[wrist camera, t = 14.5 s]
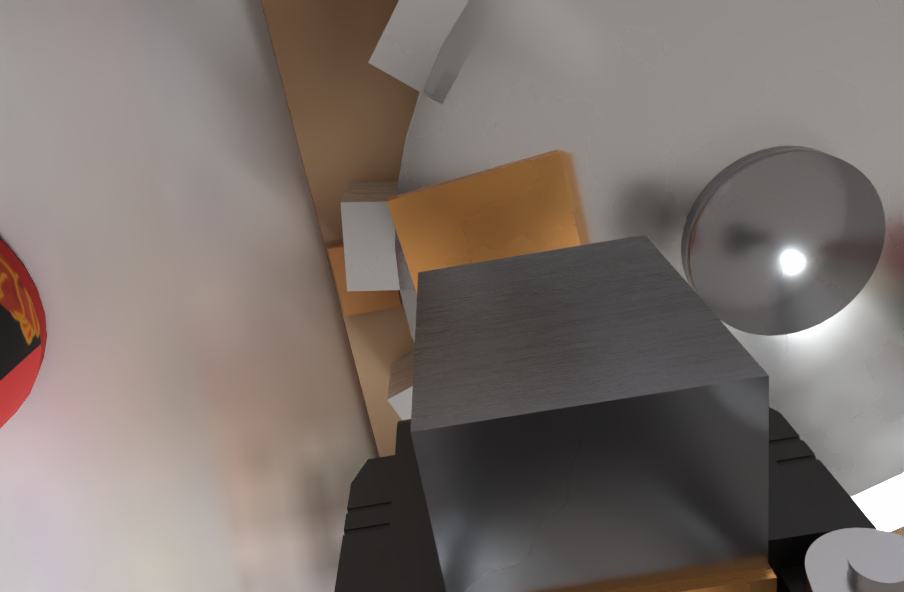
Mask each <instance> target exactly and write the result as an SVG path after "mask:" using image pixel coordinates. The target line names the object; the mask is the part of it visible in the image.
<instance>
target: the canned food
mask: <svg viewBox="0 0 904 592" xmlns="http://www.w3.org/2000/svg"><path fill="white" fill-rule="evenodd" d="M46 338H47V332H46V321H45V312H44V309H43V306H42V303H41V299H40V296H39V293H38V290H37V288H36V286H35V285H34V283H33V281H32V279H31V277H30V275H29V274H28V272H27V270H26V268H25V267H24V265H23V264H22V263H21V262H20V260H19V259H18V258H17V257H16V255H15V254H14V253H13V252H12V250H11V249H10V248H9V247H8V246H7V245H6V244H5V243H4V242H3V241H1V240H0V428H1V427H2V426H3V425H4V424H5V423H6V422H7V421H8V420H9V419H10V418H11V417H12V416H13V415H14V414H15V413H16V412H17V410H18V409H19V408H20V406H21V405H22V403H23V402H24V401H25V399H26V398H27V397H28V395H29V394H30V392H31V389H32V387H33V385H34V382H35V380H36V377H37V375H38V372H39V369H40V366H41V364H42V361H43V358H44V352H45V345H46Z"/></svg>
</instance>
